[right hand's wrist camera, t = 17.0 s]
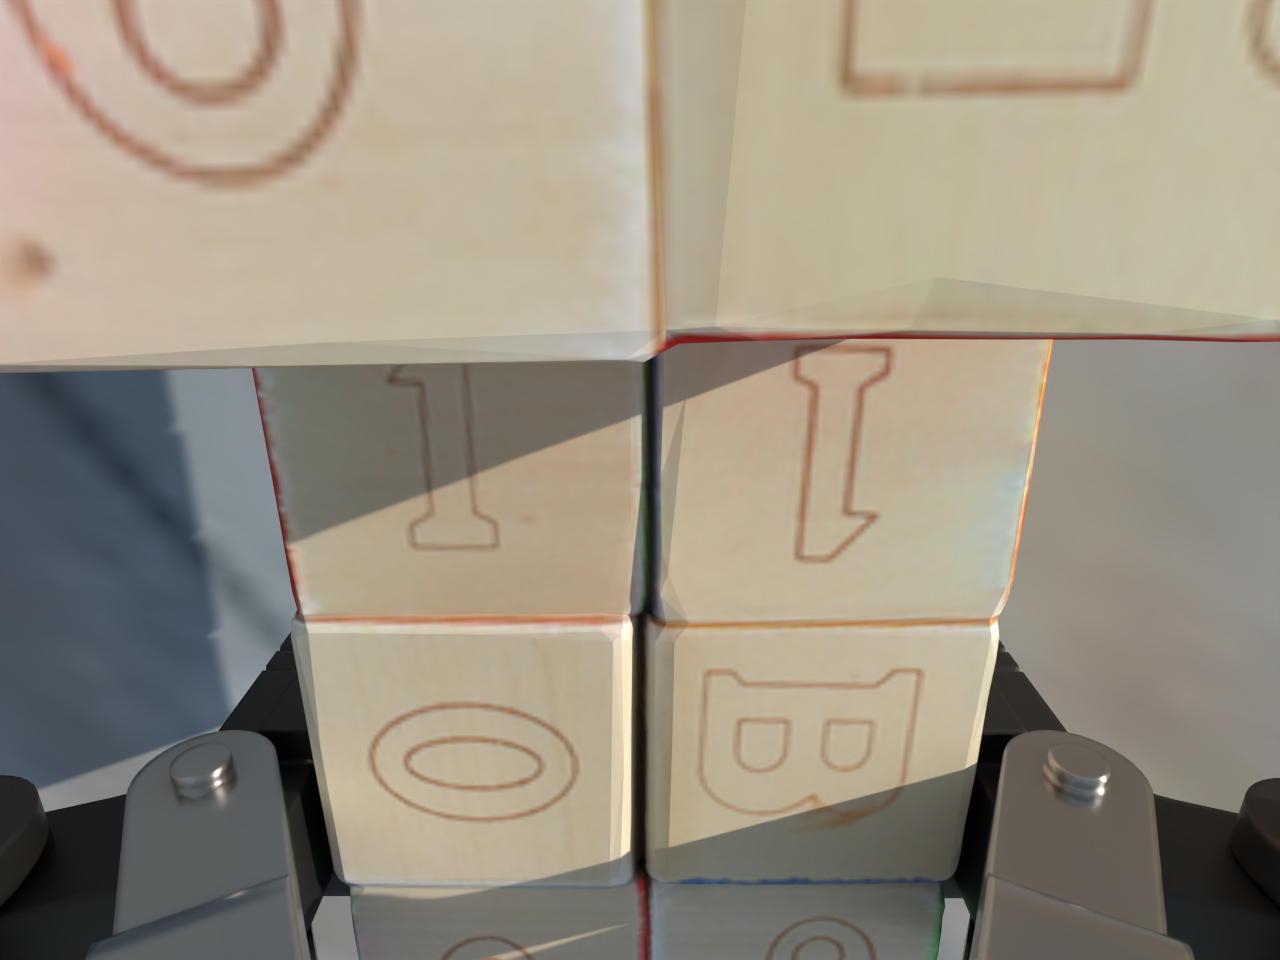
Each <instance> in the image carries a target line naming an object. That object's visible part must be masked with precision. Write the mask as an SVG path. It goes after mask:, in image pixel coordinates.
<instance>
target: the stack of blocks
mask: <svg viewBox="0 0 1280 960" xmlns="http://www.w3.org/2000/svg"><path fill="white" fill-rule="evenodd" d="M1075 339H1135V340H1176V341H1217V342H1276V341H1278V342H1280V0H0V373H29V372H78V371H127V370H176V369H225V368H252V371H253V376H254V382H255V387H256V393H257V398H258V404H259V409H260V415H261V420H262V426H263V431H264V436H265V442H266V447H267V453H268V458H269V464H270V469H271V475H272V480H273V486H274V491H275V496H276V502H277V508H278V514H279V519H280V525H281V531H282V536H283V542H284V548H285V554H286V559H287V565H288V570H289V576H290V581H291V587H292V592H293V596H294V599H295V603H296V606H297V612H296V613H295V615H294V617H293V619H292V622H291V640H292V645H293V651H294V656H295V662H296V667H297V673H298V678H299V684H300V689H301V695H302V700H303V706H304V711H305V716H306V722H307V727H308V733H309V738H310V744H311V749H312V755H313V760H314V766H315V771H316V777H317V782H318V787H319V793H320V798H321V803H322V809H323V814H324V819H325V825H326V830H327V835H328V841H329V846H330V851H331V857H332V862H333V867H334V871H335V873H336V875H337V877H338V878H339V879H340V880H341V881H343V882H344V883H345V884H347V885H348V886H349V887H350V897H351V912H352V920H353V928H354V934H355V940H356V946H357V951H358V957H359V960H937V955H938V950H939V943H940V936H941V929H942V917H943V913H944V909H945V901H944V889H943V880H947V879H948V878H950V877H951V876H952V875H953V874H954V873H955V871H956V868H957V866H958V862H959V858H960V855H961V848H962V842H963V835H964V828H965V822H966V817H967V812H968V807H969V802H970V797H971V793H972V788H973V783H974V778H975V772H976V766H977V760H978V754H979V748H980V742H981V736H982V730H983V724H984V718H985V712H986V706H987V700H988V695H989V691H990V686H991V681H992V677H993V672H994V667H995V663H996V656H997V649H998V642H999V631H998V621H997V618H998V616H999V614H1000V613H1001V611H1002V609H1003V607H1004V606H1005V604H1006V602H1007V598H1008V595H1009V591H1010V588H1011V585H1012V582H1013V580H1014V572H1015V561H1016V556H1017V552H1018V547H1019V542H1020V537H1021V532H1022V526H1023V520H1024V515H1025V509H1026V503H1027V498H1028V492H1029V486H1030V480H1031V473H1032V467H1033V460H1034V453H1035V446H1036V439H1037V433H1038V427H1039V420H1040V414H1041V408H1042V402H1043V396H1044V390H1045V384H1046V378H1047V372H1048V366H1049V360H1050V354H1051V349H1052V343H1053V340H1075Z"/></svg>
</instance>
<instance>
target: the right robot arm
mask: <svg viewBox="0 0 1280 960" xmlns="http://www.w3.org/2000/svg"><path fill="white" fill-rule="evenodd" d="M943 889H944V898H963V899H964V902H965V904H966V906H967V908H968V911H969V913H970V919H969V923H968V928H967V933H966V938H965V944H964V950H963V956H962V960H1280V778H1272V779H1266V780H1262V781H1259V782H1257V783H1255V784H1253V785H1252V786H1251V787H1249V789H1248V791H1247V792H1246V794H1245V797H1244V800H1243V803H1242V806H1241V809H1240V811H1239V814H1238V813H1233V812H1229V811H1224V810H1220V809H1215V808H1211V807H1206V806H1201V805H1197V804H1192V803H1188V802H1183V801H1179V800H1174V799H1170V798H1166V797H1163V796H1159V795H1156V794H1153V791H1152V788H1151V786H1150V784H1149V782H1148V780H1147V779H1146V777H1145V776H1144V775H1143V773H1142V772H1141V771H1140V770H1139V769H1138V768H1137V767H1136V766H1135V765H1134V764H1133V763H1132V762H1130V761H1129V760H1128V759H1127V758H1125V757H1124V756H1122V755H1121V754H1119V753H1118V752H1116V751H1115V750H1113V749H1111V748H1109V747H1107V746H1105V745H1103V744H1101V743H1099V742H1097V741H1094V740H1092V739H1089V738H1086V737H1083V736H1080V735H1077V734H1072V733H1068V732H1067V731H1066V729H1065V728H1064V727H1063V725H1062V724H1061V723H1060V721H1059V720H1058V719H1057V717H1056V716H1055V715H1054V713H1053V712H1052V711H1051V709H1050V708H1049V706H1048V705H1047V704H1046V702H1045V701H1044V700H1043V698H1042V697H1041V696H1040V694H1039V693H1038V692H1037V690H1036V689H1035V688H1034V686H1033V685H1032V684H1031V682H1030V681H1029V680H1028V678H1027V677H1026V675H1025V674H1024V673H1023V672H1020V671H1019V666H1018V665H1017V663H1016V662H1015V661H1014V659H1013V658H1012V657H1011V655H1010V654H1009V653H1008V652H1005V647H1004V646H1003V644H1002V643H1001V642H1000V640H999V642H998V649H997V656H996V663H995V667H994V672H993V677H992V681H991V686H990V691H989V695H988V700H987V706H986V712H985V718H984V724H983V730H982V736H981V742H980V748H979V754H978V760H977V766H976V772H975V778H974V783H973V788H972V793H971V797H970V802H969V807H968V812H967V817H966V822H965V828H964V835H963V842H962V848H961V855H960V858H959V862H958V866H957V868H956V871H955V873H954V874H953V875H952V876H951V877H950V878H948V879H947V880H943ZM323 896H350V887H349V886H348V885H347V884H345V883H344V882H343V881H341V880H340V879H339V878H338V877H337V875H336V873H335V871H334V867H333V862H332V857H331V851H330V846H329V841H328V835H327V830H326V825H325V819H324V814H323V809H322V803H321V798H320V793H319V787H318V782H317V777H316V771H315V766H314V760H313V755H312V749H311V744H310V738H309V733H308V727H307V722H306V716H305V711H304V706H303V700H302V695H301V689H300V684H299V678H298V673H297V667H296V662H295V656H294V651H293V645H292V640H291V633H290V634H289V635H288V637H287V638H286V639H285V641H284V642H283V644H282V645H281V646H280V651H277V652H276V653H275V654H274V656H273V657H272V659H271V660H270V661H269V663H268V664H267V665H266V671H262V672H261V674H260V675H259V676H258V678H257V679H256V680H255V682H254V683H253V684H252V686H251V687H250V689H249V690H248V691H247V693H246V694H245V695H244V697H243V698H242V699H241V701H240V702H239V704H238V705H237V706H236V708H235V709H234V710H233V712H232V713H231V715H230V716H229V717H228V719H227V720H226V721H225V723H224V724H223V725H222V727H221V728H220V730H219V731H218V732H212V733H208V734H203V735H200V736H197V737H194V738H191V739H188V740H186V741H183V742H181V743H179V744H177V745H175V746H173V747H171V748H169V749H167V750H165V751H164V752H162V753H161V754H159V755H158V756H156V757H155V758H153V759H152V760H151V761H150V762H148V763H147V764H146V765H145V766H144V767H143V768H142V769H141V770H140V771H139V772H138V773H137V775H136V776H135V777H134V779H133V780H132V782H131V784H130V786H129V788H128V791H127V794H124V795H121V796H117V797H113V798H108V799H104V800H99V801H94V802H90V803H85V804H81V805H76V806H72V807H67V808H63V809H58V810H53V811H49V812H45V811H44V809H43V806H42V803H41V800H40V797H39V794H38V791H37V789H36V788H35V786H34V785H33V784H32V783H31V782H29V781H28V780H26V779H23V778H20V777H15V776H0V960H318V956H317V950H316V944H315V938H314V933H313V928H312V921H313V919H314V916H315V914H316V912H317V909H318V907H319V905H320V902H321V900H322V897H323Z"/></svg>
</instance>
